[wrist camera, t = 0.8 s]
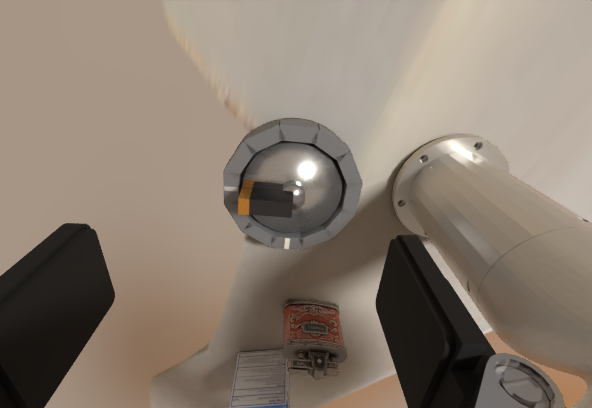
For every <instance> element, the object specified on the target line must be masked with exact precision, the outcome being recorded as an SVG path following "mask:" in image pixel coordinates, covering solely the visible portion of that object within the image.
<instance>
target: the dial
mask: <svg viewBox="0 0 592 408" xmlns="http://www.w3.org/2000/svg"><path fill="white" fill-rule="evenodd" d="M341 194H342V182H341V177H340V174H339V171H338V169H337V166H336V164H335V162H334V161H333V160H332V158H331V157H330V156H329V155H328V154H327V153H326V152H325V151H323V150H322V149H320V148H319V147H318V146H316V145H314V144H312V143H304V142H293V141H280V142H278V143H276V144H273V145H271V146H269V147H267V148H264V149H262V150H260V151H259V152H258V153H257V154H256V155H255V156H254V157H253V159H252V160H251V161H250V163H249V165H248V167H247V169H246V172H245V175H244V179H243V185H242V189H241V192H240V195H239V198H238V214H239V215H253V217H254V218H255V219H256V220H258V221H259V222H260V223H261V224H263V225H264V226H266V227H268V228H270V229H273V230H275V231H279V232H284V233H300V232H305V231H309V230H312V229H314V228H316V227H318V226H320V225H321V224H323V223H324V222H326V221H327V220H328V219H329V218H330V217H331V216H332V214H333V213H334V212H335V210H336V209H337V207H338V205H339V202H340V199H341Z"/></svg>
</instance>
